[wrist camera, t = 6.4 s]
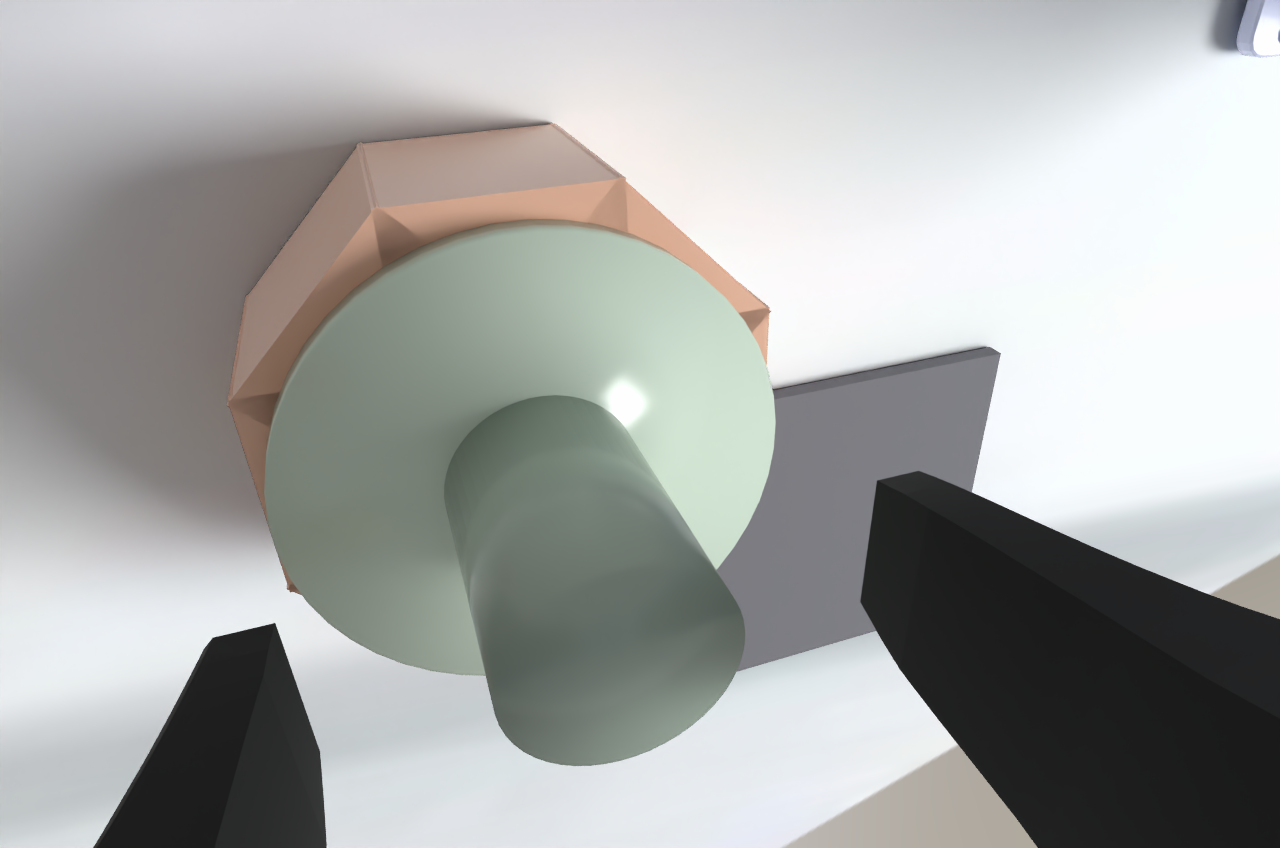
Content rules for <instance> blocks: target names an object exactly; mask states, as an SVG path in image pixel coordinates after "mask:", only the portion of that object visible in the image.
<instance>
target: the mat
mask: <svg viewBox="0 0 1280 848" xmlns="http://www.w3.org/2000/svg"><path fill="white" fill-rule="evenodd" d="M1000 354H1001V353H999V352H997V351H996V350H994V349H992V348H991V347H987V348H982V349H977V350H972V351H967V352H962V353H957V354H952V355H947V356H942V357H937V358H932V359H927V360H922V361H917V362H912V363H907V364H902V365H897V366H892V367H887V368H882V369H877V370H872V371H867V372H862V373H857V374H852V375H847V376H842V377H837V378H832V379H827V380H822V381H817V382H812V383H807V384H802V385H797V386H792V387H787V388H782V389H777V390H773V395H774V406H775V420H776V425H775V439H774V450H773V455H772V460H771V465H770V470H769V474H768V477H767V480H766V483H765V486H764V489H763V492H762V495H761V498H760V501H759V503H758V505H757V507H756V509H755V511H754V513H753V515H752V518H751V520H750V522H749V524H748V526H747V527H746V529H745V530H744V532H743V534H742V535H741V537H740V538H739V540H738V542H737V543H736V545H735V547H734V548H733V549H732V551H731V552H730V553H729V554H728V556H727V557H726V558H725V560H724V561H723V562H722V564H721V565H720V566H719V567H718V569H717V572H718V573H719V575H720V577H721V578H722V580H723V581H724V583H725V584H726V586H727V588H728V589H729V591H730V592H731V594H732V595H733V597H734V598H735V600H736V602H737V604H738V606H739V608H740V610H741V613H742V616H743V619H744V625H745V645H744V650H743V655H742V659H741V661H740V664H739V667H738V669H737V671H740V670H744V669H747V668H751V667H754V666H758V665H761V664H764V663H768V662H771V661H775V660H778V659H781V658H785V657H788V656H792V655H795V654H798V653H802V652H805V651H809V650H812V649H815V648H819V647H822V646H826V645H829V644H833V643H836V642H839V641H843V640H846V639H850V638H853V637H856V636H860V635H863V634H867V633H870V632H873V631H876V629H875V627H874V625H873V624H872V622H871V620H870V618H869V617H868V615H867V613H866V611H865V610H864V608H863V606H862V604H861V602H860V599H861V592H862V585H863V577H864V570H865V563H866V556H867V549H868V541H869V534H870V527H871V520H872V512H873V505H874V498H875V491H876V484H877V480H881V479H886V478H890V477H894V476H898V475H902V474H907V473H911V472H915V471H921V472H923V473H926V474H929V475H931V476H934V477H937V478H939V479H941V480H944V481H946V482H949V483H951V484H953V485H956V486H958V487H960V488H963V489H965V490H967V491H969V492H972V488H973V483H974V478H975V473H976V469H977V464H978V459H979V454H980V449H981V445H982V440H983V435H984V430H985V426H986V421H987V416H988V411H989V407H990V402H991V397H992V392H993V387H994V383H995V378H996V373H997V368H998V364H999V359H1000ZM737 671H736V672H737Z"/></svg>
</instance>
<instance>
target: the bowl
mask: <svg viewBox="0 0 1280 848" xmlns="http://www.w3.org/2000/svg"><path fill="white" fill-rule="evenodd" d="M356 146H357V147H356V148H355V150H354V151H353V152H352V154H351V155H350V156H349V158H348V159H347V161H346V162H345V163H344V165H343V166H342V167H341V169H340V170H339V172H338V173H337V174H336V176H335V177H334V178H333V180H332V181H331V182H330V184H329V185H328V187H327V188H326V189H325V191H324V192H323V193H322V195H321V196H320V197H319V199H318V200H317V202H316V203H315V204H314V206H313V207H312V208H311V210H310V211H309V213H308V214H307V215H306V217H305V218H304V219H303V221H302V222H301V223H300V225H299V226H298V228H297V229H296V230H295V232H294V233H293V234H292V236H291V237H290V238H289V240H288V241H287V243H286V244H285V245H284V247H283V248H282V249H281V251H280V252H279V254H278V255H277V256H276V258H275V259H274V260H273V262H272V263H271V264H270V266H269V267H268V269H267V270H266V271H265V273H264V274H263V275H262V277H261V278H260V279H259V281H258V282H257V284H256V285H255V286H254V288H253V289H252V290H251V292H250V293H249V295H246V297H245V302H244V308H243V314H242V320H241V325H240V331H239V337H238V343H237V349H236V354H235V360H234V366H233V372H232V378H231V383H230V389H229V395H228V401H227V406H228V407H230V410H231V413H232V416H233V419H234V422H235V425H236V428H237V431H238V434H239V437H240V440H241V443H242V446H243V450H244V453H245V456H246V459H247V462H248V465H249V468H250V471H251V474H252V477H253V480H254V483H255V486H256V489H257V492H258V495H259V499H260V502H261V505H262V508H263V511H264V514H265V517H266V520H267V523H268V518H267V511H266V503H265V495H264V489H265V464H266V451H267V439H268V434H269V429H270V424H271V420H272V415H273V410H274V406H275V403H276V401H277V398H278V396H279V393H280V390H281V388H282V385H283V382H284V380H285V377H286V375H287V373H288V371H289V370H290V368H291V366H292V364H293V362H294V361H295V359H296V357H297V355H298V354H299V352H300V350H301V348H302V347H303V345H304V343H305V342H306V341H307V340H308V338H309V337H310V336H311V334H312V333H313V332H314V331H315V329H316V328H317V327H318V325H319V324H320V323H321V322H322V320H323V319H324V318H325V316H326V315H327V314H328V313H329V312H330V311H331V310H332V309H333V308H334V307H336V306H337V305H338V304H339V303H340V302H341V301H342V300H343V299H344V298H345V297H346V296H347V295H348V294H349V293H350V292H351V291H352V290H353V289H354V288H356V287H357V286H358V285H360V284H361V283H362V282H364V281H365V280H366V279H368V278H369V277H371V276H372V275H373V274H375V273H376V272H377V271H379V270H380V269H381V268H383V267H384V266H386V265H388V264H389V263H391V262H393V261H395V260H397V259H398V258H400V257H402V256H404V255H406V254H407V253H409V252H411V251H413V250H415V249H417V248H418V247H421V246H423V245H426V244H428V243H431V242H433V241H436V240H439V239H441V238H444V237H446V236H449V235H451V234H454V233H457V232H461V231H465V230H469V229H473V228H477V227H481V226H485V225H489V224H493V223H502V222H510V221H518V220H527V219H555V220H572V221H579V222H585V223H592V224H599V225H603V226H607V227H610V228H613V229H617V230H620V231H624V232H627V233H630V234H634V235H636V236H638V237H640V238H642V239H645V240H647V241H649V242H651V243H653V244H655V245H658V246H660V247H662V248H664V249H665V250H667V251H668V252H670V253H671V254H673V255H674V256H676V257H677V258H679V259H681V260H682V261H684V262H685V263H687V264H688V265H689V266H690V267H692V268H693V269H694V270H695V271H696V272H697V273H698V274H700V275H701V276H702V277H703V278H704V279H705V280H706V281H708V282H709V283H710V284H711V285H712V286H713V287H714V288H715V289H716V290H718V291H719V292H720V293H721V294H722V295H723V296H724V297H725V298H726V299H727V300H728V301H729V302H730V303H731V305H732V306H733V307H734V308H735V310H736V311H737V312H738V313H739V315H740V316H741V317H742V318H743V319H744V321H745V322H746V324H747V326H748V328H749V329H750V331H751V333H752V335H753V336H754V338H755V340H756V341H757V343H758V345H759V348H760V350H761V353H762V355H763V358H764V361H765V363H766V366H767V346H768V326H769V313H770V312H771V311H770V310H769V307H768V306H767V305H766V304H765V303H763V302H762V301H761V300H760V299H758V298H757V297H756V296H755V295H754V294H752V293H751V292H750V291H749V290H747V289H746V288H745V287H744V286H742V285H741V284H740V283H739V282H738V281H736V280H735V279H734V278H733V277H732V276H731V275H730V274H729V273H728V272H726V271H725V270H724V269H723V268H722V267H721V266H720V265H719V264H718V263H716V262H715V261H714V260H713V259H712V258H711V257H710V256H709V255H707V254H706V253H705V252H704V251H703V250H702V249H701V248H700V247H699V246H697V245H696V244H695V243H694V242H693V241H692V240H691V239H690V238H689V237H687V236H686V235H685V234H684V233H683V232H682V231H681V230H680V229H678V228H677V227H676V226H675V225H674V224H673V223H672V222H671V221H670V220H668V219H667V218H666V217H665V216H664V215H663V214H662V213H661V212H660V211H658V210H657V209H656V208H655V207H654V206H653V205H652V204H651V203H649V202H648V201H647V200H646V199H645V198H644V197H643V196H642V195H641V194H639V193H638V192H637V191H636V190H635V189H634V188H633V187H632V186H631V185H629V184H628V183H627V182H626V178H625V177H624V176H622V175H621V174H620V173H618V172H617V171H616V170H615V169H613V168H612V167H611V166H609V165H608V164H607V163H606V162H604V161H603V160H602V159H600V158H599V157H598V156H597V155H595V154H594V153H593V152H591V151H590V150H589V149H587V148H586V147H585V146H584V145H582V144H581V143H580V142H578V141H577V140H576V139H575V138H573V137H572V136H571V135H569V134H568V133H567V132H566V131H564V130H563V129H562V128H560V127H559V126H558V125H557V124H553V123H552V122H551V124H549V125H539V126H529V127H519V128H509V129H499V130H490V131H480V132H470V133H460V134H450V135H440V136H431V137H421V138H411V139H401V140H391V141H381V142H372V143H361V142H360V143H359V144H356ZM268 526H269V525H268ZM269 529H270V528H269ZM274 545H275V544H274ZM278 557H279V556H278ZM279 560H280V558H279ZM280 563H281V566H282V569H283V572H284V575H285V578H286V581H287V590H290V592H295V593H298V594H300V595H302V594H301V593H300V592H299V590H298V589H297V588H296V586H295V585H294V583H293V582H292V581H291V579H290V577H289V575H288V573H287V571H286V570H285V568H284V566H283V564H282V562H281V560H280Z"/></svg>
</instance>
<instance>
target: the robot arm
mask: <svg viewBox="0 0 1280 848" xmlns="http://www.w3.org/2000/svg"><path fill="white" fill-rule="evenodd" d="M1237 47H1238V50H1239V52H1240V53H1241V54H1242V55H1246V56H1253V57H1270V56H1279V55H1280V0H1248V1H1247V4H1246V8H1245V11H1244V14H1243V18H1242V21H1241V24H1240V27H1239V31H1238V35H1237ZM860 602H861V604H862V606H863V608H864V610H865V611H866V613H867V615H868V617H869V618H870V620H871V622H872V624H873V625H874V627H875V629H876V631H877V632H878V634H879V636H880V638H881V639H882V641H883V643H884V644H885V646H886V648H887V649H888V651H889V652H890V654H891V656H892V657H893V659H894V661H895V662H896V664H897V665H898V667H899V669H900V670H901V671H902V673H903V674H904V675H905V677H906V678H907V679H908V681H909V682H910V683H911V685H912V686H913V687H914V689H915V690H916V691H917V692H918V694H919V695H920V696H921V698H922V699H923V700H924V702H925V703H926V704H927V705H928V707H929V708H930V709H931V711H932V712H933V713H934V714H935V716H936V717H937V718H938V720H939V721H940V722H941V723H942V725H943V726H944V727H945V728H946V730H947V731H948V732H949V734H950V735H951V736H952V737H953V739H954V740H955V741H956V742H957V744H958V745H959V746H960V747H961V749H962V750H963V751H964V752H965V754H966V755H967V756H968V758H969V759H970V760H971V761H972V763H973V764H974V765H975V766H976V768H977V769H978V770H979V771H980V773H981V774H982V775H983V776H984V778H985V779H986V780H987V782H988V783H989V784H990V785H991V787H992V788H993V789H994V790H995V792H996V793H997V794H998V796H999V797H1000V798H1001V799H1002V801H1003V802H1004V803H1005V804H1006V806H1007V807H1008V808H1009V809H1010V811H1011V812H1012V813H1013V814H1014V816H1015V817H1016V818H1017V820H1018V821H1019V822H1020V824H1021V825H1022V827H1023V828H1024V829H1025V831H1026V832H1027V833H1028V835H1029V836H1030V838H1031V839H1032V840H1033V842H1034V843H1035V844H1036V846H1037V847H1038V848H1280V619H1277V618H1274V617H1271V616H1268V615H1265V614H1262V613H1259V612H1256V611H1253V610H1250V609H1247V608H1244V607H1241V606H1239V605H1236V604H1233V603H1231V602H1228V601H1225V600H1222V599H1220V598H1217V597H1214V596H1211V595H1209V594H1206V593H1203V592H1201V591H1198V590H1196V589H1193V588H1191V587H1188V586H1186V585H1183V584H1181V583H1178V582H1176V581H1173V580H1171V579H1168V578H1166V577H1163V576H1161V575H1158V574H1156V573H1153V572H1151V571H1148V570H1145V569H1143V568H1141V567H1138V566H1136V565H1133V564H1131V563H1129V562H1126V561H1124V560H1122V559H1119V558H1117V557H1115V556H1112V555H1110V554H1107V553H1105V552H1103V551H1101V550H1098V549H1096V548H1094V547H1091V546H1089V545H1087V544H1085V543H1082V542H1080V541H1078V540H1076V539H1073V538H1071V537H1069V536H1067V535H1064V534H1062V533H1060V532H1058V531H1055V530H1053V529H1051V528H1049V527H1047V526H1044V525H1042V524H1040V523H1038V522H1036V521H1033V520H1031V519H1029V518H1027V517H1025V516H1022V515H1020V514H1018V513H1016V512H1014V511H1012V510H1009V509H1007V508H1005V507H1003V506H1001V505H998V504H996V503H994V502H992V501H990V500H987V499H985V498H983V497H981V496H978V495H976V494H974V493H972V492H969V491H967V490H965V489H963V488H960V487H958V486H956V485H953V484H951V483H949V482H946V481H944V480H941V479H939V478H937V477H934V476H931V475H929V474H926V473H923V472H921V471H915V472H911V473H907V474H902V475H898V476H894V477H890V478H886V479H881V480H877V484H876V491H875V498H874V505H873V512H872V520H871V527H870V534H869V541H868V549H867V556H866V563H865V570H864V577H863V585H862V592H861V599H860ZM93 848H326V829H325V813H324V798H323V785H322V772H321V759H320V751H319V748H318V745H317V742H316V739H315V736H314V733H313V731H312V728H311V725H310V722H309V719H308V716H307V713H306V710H305V708H304V705H303V702H302V699H301V696H300V693H299V690H298V687H297V685H296V682H295V679H294V676H293V673H292V670H291V667H290V664H289V662H288V659H287V656H286V653H285V650H284V647H283V644H282V641H281V639H280V636H279V633H278V630H277V627H276V624H275V623H274V624H269V625H265V626H261V627H257V628H253V629H248V630H244V631H240V632H236V633H231V634H227V635H223V636H219V637H215V638H212V640H211V641H210V642H209V643H208V645H207V646H206V647H205V648H204V650H203V652H202V654H201V656H200V658H199V660H198V662H197V664H196V666H195V668H194V670H193V672H192V674H191V676H190V677H189V679H188V681H187V683H186V685H185V687H184V689H183V691H182V693H181V695H180V697H179V699H178V700H177V702H176V704H175V706H174V708H173V710H172V712H171V714H170V716H169V717H168V719H167V721H166V723H165V725H164V727H163V728H162V730H161V732H160V734H159V736H158V737H157V739H156V741H155V743H154V745H153V747H152V748H151V750H150V752H149V754H148V756H147V757H146V759H145V761H144V763H143V764H142V766H141V768H140V770H139V771H138V773H137V775H136V776H135V778H134V780H133V782H132V783H131V785H130V787H129V788H128V790H127V792H126V794H125V795H124V797H123V799H122V800H121V802H120V804H119V805H118V807H117V809H116V811H115V812H114V814H113V816H112V817H111V819H110V821H109V823H108V824H107V826H106V828H105V829H104V831H103V833H102V834H101V836H100V838H99V839H98V841H97V843H96V844H95V846H94V847H93Z"/></svg>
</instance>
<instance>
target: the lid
mask: <svg viewBox="0 0 1280 848" xmlns="http://www.w3.org/2000/svg"><path fill="white" fill-rule="evenodd" d="M775 425H776V420H775V406H774V395H773V390H772V385H771V381H770V376H769V372H768V368H767V366H766V363H765V361H764V358H763V355H762V353H761V350H760V348H759V345H758V343H757V341H756V340H755V338H754V336H753V335H752V333H751V331H750V329H749V328H748V326H747V324H746V322H745V321H744V319H743V318H742V317H741V316H740V315H739V313H738V312H737V311H736V310H735V308H734V307H733V306H732V305H731V303H730V302H729V301H728V300H727V299H726V298H725V297H724V296H723V295H722V294H721V293H720V292H719V291H718V290H716V289H715V288H714V287H713V286H712V285H711V284H710V283H709V282H708V281H706V280H705V279H704V278H703V277H702V276H701V275H700V274H698V273H697V272H696V271H695V270H694V269H693V268H692V267H690V266H689V265H688V264H687V263H685V262H684V261H682V260H681V259H679V258H677V257H676V256H674V255H673V254H671V253H670V252H668V251H667V250H665V249H664V248H662V247H660V246H658V245H655V244H653V243H651V242H649V241H647V240H645V239H642V238H640V237H638V236H636V235H634V234H630V233H627V232H624V231H620V230H617V229H613V228H610V227H607V226H603V225H599V224H592V223H585V222H579V221H572V220H555V219H527V220H518V221H510V222H502V223H493V224H489V225H485V226H481V227H477V228H473V229H469V230H465V231H461V232H457V233H454V234H451V235H449V236H446V237H444V238H441V239H439V240H436V241H433V242H431V243H428V244H426V245H423V246H421V247H418V248H417V249H415V250H413V251H411V252H409V253H407V254H406V255H404V256H402V257H400V258H398V259H397V260H395V261H393V262H391V263H389V264H388V265H386V266H384V267H383V268H381V269H380V270H379V271H377V272H376V273H375V274H373V275H372V276H371V277H369V278H368V279H366V280H365V281H364V282H362V283H361V284H360V285H358V286H357V287H356V288H354V289H353V290H352V291H351V292H350V293H349V294H348V295H347V296H346V297H345V298H344V299H343V300H342V301H341V302H340V303H339V304H338V305H337V306H336V307H334V308H333V309H332V310H331V311H330V312H329V313H328V314H327V315H326V316H325V318H324V319H323V320H322V322H321V323H320V324H319V325H318V327H317V328H316V329H315V331H314V332H313V333H312V334H311V336H310V337H309V338H308V340H307V341H306V342H305V343H304V345H303V347H302V348H301V350H300V352H299V354H298V355H297V357H296V359H295V361H294V362H293V364H292V366H291V368H290V370H289V371H288V373H287V375H286V377H285V380H284V382H283V385H282V388H281V390H280V393H279V396H278V398H277V401H276V403H275V406H274V410H273V415H272V420H271V424H270V429H269V434H268V439H267V451H266V464H265V489H264V495H265V503H266V511H267V518H268V525H269V528H270V532H271V535H272V538H273V541H274V544H275V548H276V551H277V554H278V556H279V558H280V560H281V562H282V564H283V566H284V568H285V570H286V571H287V573H288V575H289V577H290V579H291V581H292V582H293V583H294V585H295V586H296V588H297V589H298V590H299V592H300V593H301V594H302V596H303V597H304V598H305V600H306V601H307V602H308V604H309V605H311V606H312V607H313V608H314V609H315V610H316V611H317V612H318V613H319V614H320V615H321V616H322V617H323V618H324V619H325V620H326V621H327V622H328V623H329V624H330V625H332V626H333V627H334V628H336V629H337V630H338V631H340V632H341V633H343V634H344V635H345V636H347V637H348V638H349V639H351V640H352V641H354V642H356V643H358V644H360V645H362V646H364V647H365V648H367V649H369V650H371V651H373V652H375V653H377V654H379V655H382V656H384V657H387V658H390V659H392V660H395V661H397V662H400V663H403V664H406V665H410V666H414V667H418V668H422V669H426V670H430V671H436V672H443V673H451V674H458V675H483V676H486V679H487V683H488V687H489V691H490V695H491V700H492V704H493V708H494V712H495V715H496V718H497V721H498V724H499V726H500V727H501V729H502V731H503V732H504V734H505V735H506V737H507V738H508V739H509V740H510V741H511V742H512V743H513V744H514V745H515V746H517V747H518V748H519V749H521V750H522V751H523V752H525V753H527V754H529V755H531V756H533V757H535V758H538V759H541V760H543V761H546V762H550V763H555V764H560V765H571V766H591V765H599V764H607V763H612V762H616V761H621V760H624V759H628V758H631V757H634V756H637V755H640V754H642V753H645V752H647V751H650V750H652V749H654V748H656V747H658V746H660V745H662V744H664V743H666V742H668V741H669V740H671V739H673V738H674V737H676V736H678V735H679V734H681V733H682V732H684V731H685V730H686V729H688V728H689V727H691V726H692V725H693V724H694V723H695V722H697V721H698V720H699V719H700V718H701V717H703V716H704V715H705V714H706V713H707V712H708V711H709V710H710V709H711V708H712V707H713V706H714V704H715V703H716V702H717V701H718V700H719V698H720V697H721V696H722V695H723V693H724V692H725V690H726V689H727V687H728V686H729V684H730V683H731V681H732V679H733V677H734V675H735V673H736V671H737V669H738V667H739V664H740V661H741V659H742V655H743V650H744V645H745V625H744V619H743V616H742V613H741V610H740V608H739V606H738V604H737V602H736V600H735V598H734V597H733V595H732V594H731V592H730V591H729V589H728V588H727V586H726V584H725V583H724V581H723V580H722V578H721V577H720V575H719V573H718V572H717V569H718V567H719V566H720V565H721V564H722V562H723V561H724V560H725V558H726V557H727V556H728V554H729V553H730V552H731V551H732V549H733V548H734V547H735V545H736V543H737V542H738V540H739V538H740V537H741V535H742V534H743V532H744V530H745V529H746V527H747V526H748V524H749V522H750V520H751V518H752V515H753V513H754V511H755V509H756V507H757V505H758V503H759V501H760V498H761V495H762V492H763V489H764V486H765V483H766V480H767V477H768V474H769V470H770V465H771V460H772V455H773V450H774V439H775Z"/></svg>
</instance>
